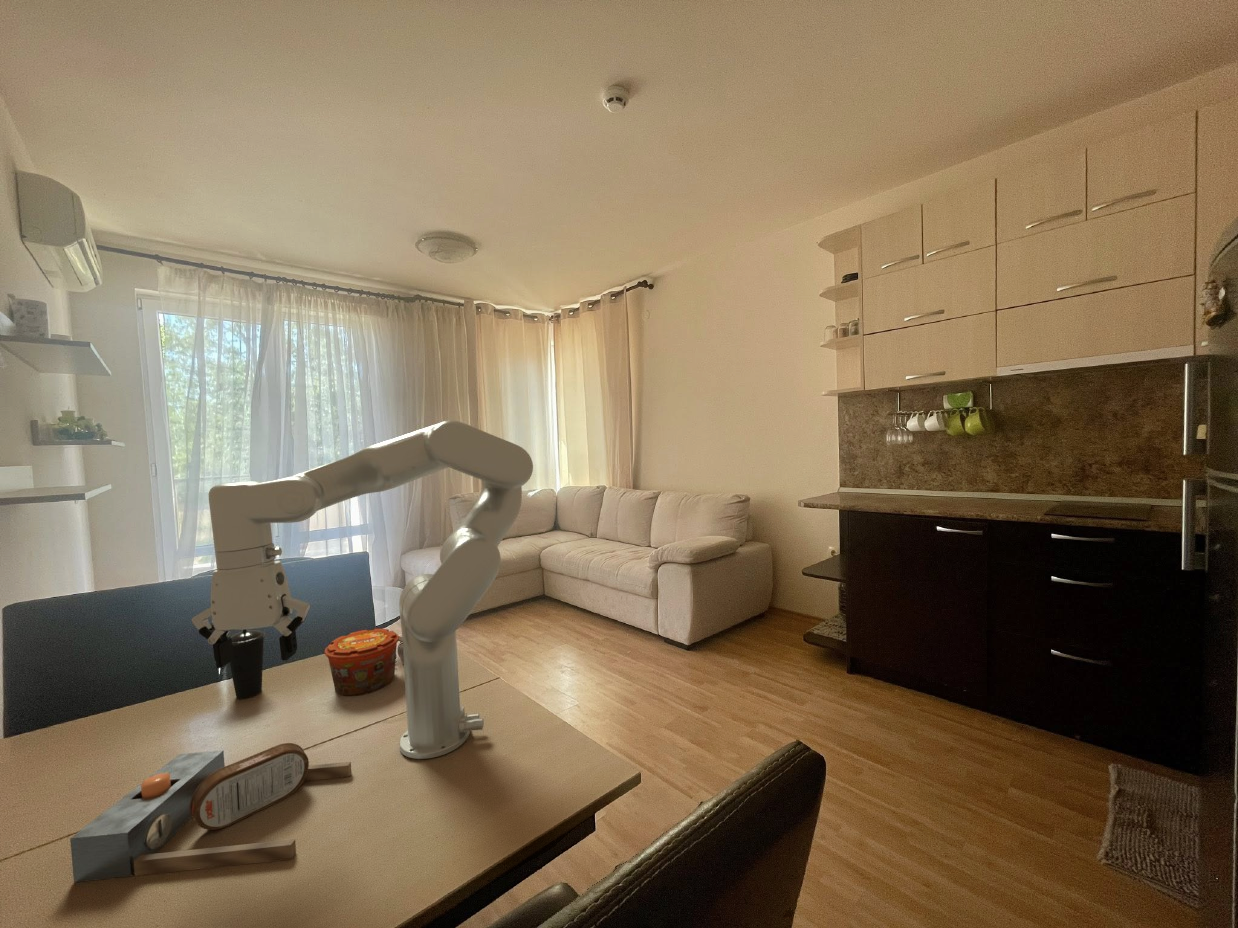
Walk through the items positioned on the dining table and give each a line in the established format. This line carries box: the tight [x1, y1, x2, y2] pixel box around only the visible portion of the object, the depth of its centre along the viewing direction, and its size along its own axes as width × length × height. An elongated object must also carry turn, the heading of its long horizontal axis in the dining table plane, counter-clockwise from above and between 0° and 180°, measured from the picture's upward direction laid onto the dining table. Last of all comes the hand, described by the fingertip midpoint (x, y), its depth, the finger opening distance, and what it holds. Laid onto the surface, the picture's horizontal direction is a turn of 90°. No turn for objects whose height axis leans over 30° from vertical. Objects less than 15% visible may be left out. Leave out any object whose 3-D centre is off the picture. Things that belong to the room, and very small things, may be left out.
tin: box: [190, 742, 310, 831], centre depth 77 cm, size 15×3×8 cm, turn 140°
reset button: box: [140, 773, 171, 798], centre depth 74 cm, size 3×3×3 cm
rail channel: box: [134, 761, 352, 876], centre depth 76 cm, size 20×18×2 cm
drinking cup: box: [229, 629, 266, 700], centre depth 116 cm, size 8×8×20 cm
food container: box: [324, 628, 400, 697], centre depth 119 cm, size 16×16×11 cm
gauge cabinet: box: [69, 749, 226, 883], centre depth 75 cm, size 7×18×6 cm, turn 5°
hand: (257, 660), depth 81 cm, fingers open, 9 cm apart
